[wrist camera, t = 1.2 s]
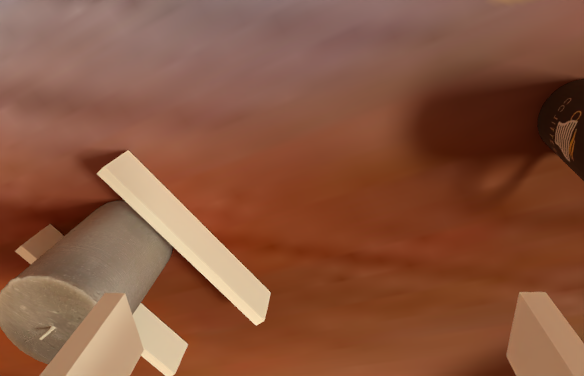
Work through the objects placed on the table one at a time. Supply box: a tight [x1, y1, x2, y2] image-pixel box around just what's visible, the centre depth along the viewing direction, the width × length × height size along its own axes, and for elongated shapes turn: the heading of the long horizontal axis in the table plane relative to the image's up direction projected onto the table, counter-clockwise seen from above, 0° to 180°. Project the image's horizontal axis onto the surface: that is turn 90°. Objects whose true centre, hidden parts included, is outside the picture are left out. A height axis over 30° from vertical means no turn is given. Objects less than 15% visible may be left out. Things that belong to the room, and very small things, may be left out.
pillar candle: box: [0, 201, 173, 364], centre depth 37 cm, size 10×10×15 cm
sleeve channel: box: [15, 150, 271, 376], centre depth 43 cm, size 22×15×4 cm
